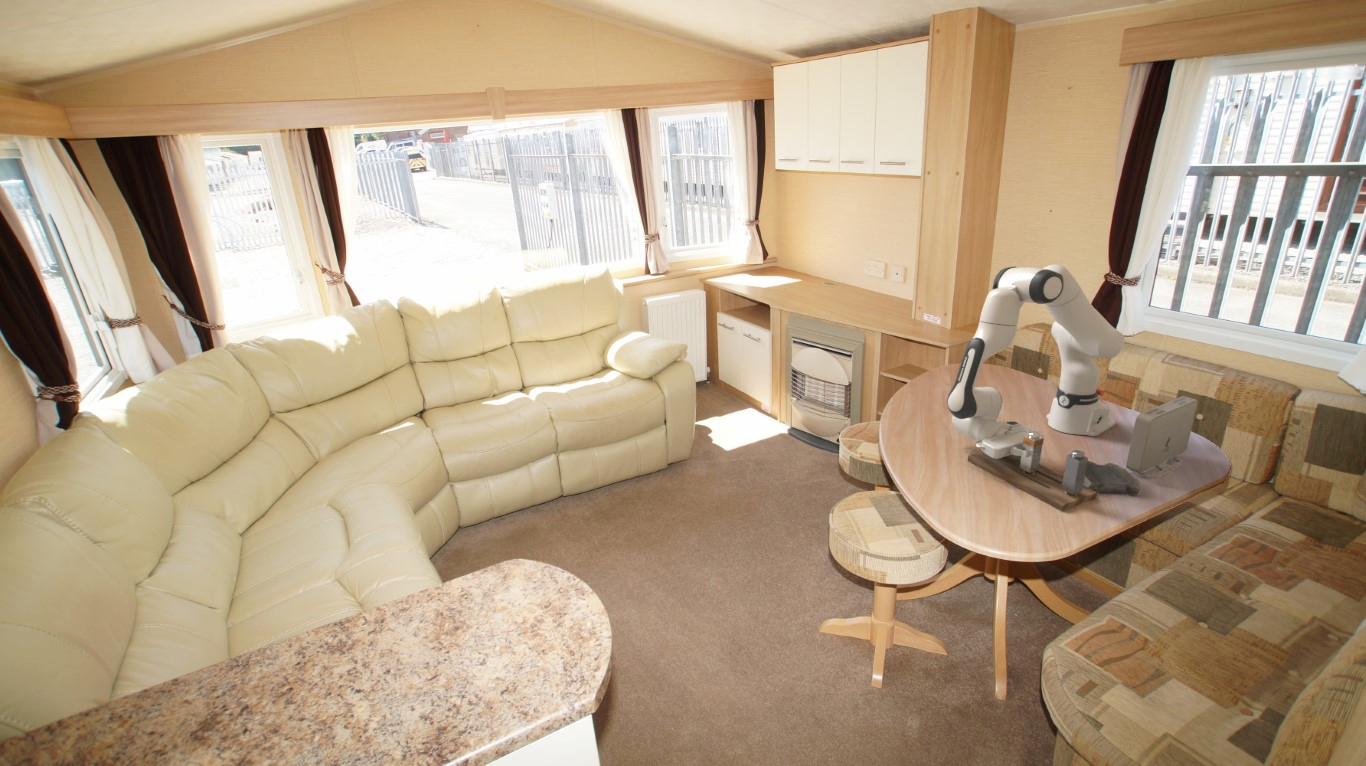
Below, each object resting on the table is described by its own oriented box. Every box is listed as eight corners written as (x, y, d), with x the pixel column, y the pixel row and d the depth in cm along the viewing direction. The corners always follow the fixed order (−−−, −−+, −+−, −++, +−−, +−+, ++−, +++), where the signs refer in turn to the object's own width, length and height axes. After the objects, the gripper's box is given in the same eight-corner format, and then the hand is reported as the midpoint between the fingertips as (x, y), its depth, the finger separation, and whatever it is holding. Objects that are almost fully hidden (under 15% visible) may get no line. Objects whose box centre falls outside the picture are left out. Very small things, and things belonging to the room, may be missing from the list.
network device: (1145, 483, 188) (1159, 422, 180) (1114, 471, 195) (1126, 412, 188) (1192, 459, 198) (1207, 401, 191) (1162, 448, 205) (1175, 392, 198)
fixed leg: (1069, 489, 184) (1076, 448, 179) (1081, 494, 180) (1088, 453, 176) (1060, 492, 182) (1067, 451, 178) (1072, 498, 179) (1079, 456, 174)
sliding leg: (1027, 467, 196) (1033, 429, 191) (1038, 472, 193) (1044, 434, 188) (1018, 470, 195) (1024, 432, 190) (1029, 475, 191) (1035, 437, 187)
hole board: (999, 450, 211) (1000, 443, 210) (1096, 498, 182) (1098, 490, 181) (967, 460, 207) (968, 453, 206) (1061, 511, 177) (1063, 503, 176)
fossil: (1142, 498, 181) (1145, 487, 180) (1080, 494, 185) (1082, 482, 184) (1123, 472, 195) (1125, 461, 193) (1066, 468, 199) (1068, 457, 198)
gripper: (972, 434, 198) (1009, 452, 186) (1020, 419, 205) (1059, 436, 193) (970, 452, 200) (1007, 471, 188) (1018, 437, 207) (1056, 454, 195)
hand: (1034, 453), depth 190 cm, fingers closed on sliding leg, 4 cm apart
